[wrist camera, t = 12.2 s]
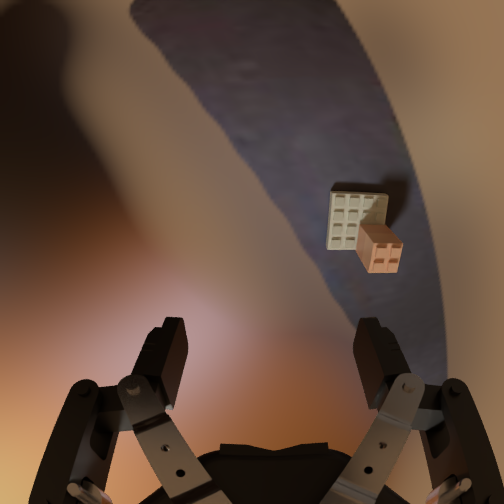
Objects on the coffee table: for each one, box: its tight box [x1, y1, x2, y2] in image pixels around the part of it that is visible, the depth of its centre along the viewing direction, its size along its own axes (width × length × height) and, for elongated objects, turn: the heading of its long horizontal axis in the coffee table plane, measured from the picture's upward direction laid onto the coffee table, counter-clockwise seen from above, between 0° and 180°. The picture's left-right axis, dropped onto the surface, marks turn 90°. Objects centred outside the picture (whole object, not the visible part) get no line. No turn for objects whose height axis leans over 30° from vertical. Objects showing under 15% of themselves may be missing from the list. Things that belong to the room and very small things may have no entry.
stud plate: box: [326, 191, 389, 250], centre depth 39 cm, size 8×8×2 cm
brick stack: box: [356, 224, 403, 273], centre depth 37 cm, size 4×4×6 cm
